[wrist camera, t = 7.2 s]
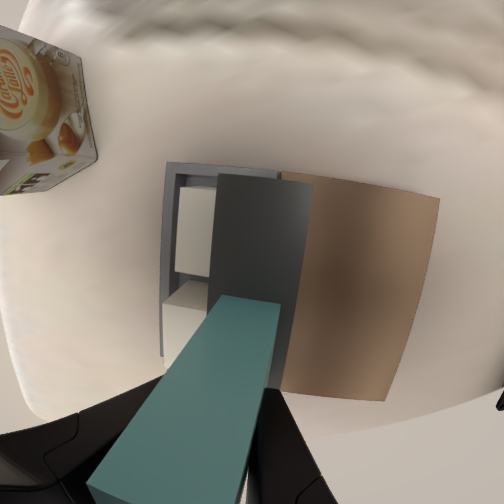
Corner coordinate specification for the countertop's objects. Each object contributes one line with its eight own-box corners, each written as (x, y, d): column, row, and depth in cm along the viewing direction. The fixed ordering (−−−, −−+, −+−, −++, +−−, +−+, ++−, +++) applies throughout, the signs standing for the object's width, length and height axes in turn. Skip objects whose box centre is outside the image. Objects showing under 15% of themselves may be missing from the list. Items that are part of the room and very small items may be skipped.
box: (280, 172, 17) (277, 171, 15) (256, 359, 20) (251, 376, 18) (180, 163, 18) (166, 161, 16) (171, 342, 21) (160, 356, 19)
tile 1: (233, 192, 14) (180, 187, 14) (225, 280, 15) (174, 271, 15) (249, 190, 18) (206, 185, 18) (241, 259, 18) (200, 253, 19)
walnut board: (419, 195, 16) (439, 198, 13) (376, 374, 19) (384, 401, 16) (285, 172, 17) (282, 171, 14) (260, 360, 20) (253, 386, 17)
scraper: (312, 183, 11) (360, 193, 2) (272, 418, 14) (232, 605, 4) (232, 173, 12) (-5, 168, 2) (213, 407, 14) (135, 579, 5)
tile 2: (209, 311, 15) (162, 303, 15) (206, 377, 16) (164, 367, 16) (228, 285, 19) (188, 279, 19) (224, 343, 20) (188, 336, 20)
